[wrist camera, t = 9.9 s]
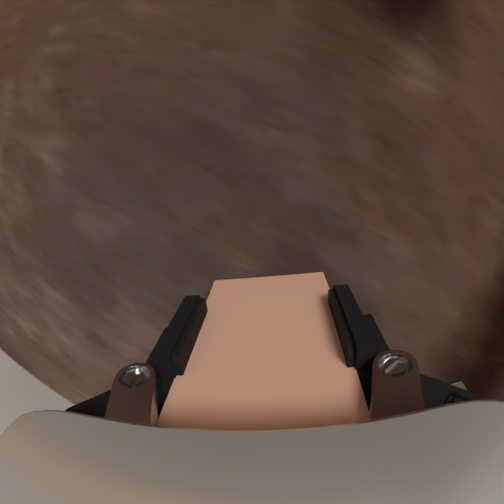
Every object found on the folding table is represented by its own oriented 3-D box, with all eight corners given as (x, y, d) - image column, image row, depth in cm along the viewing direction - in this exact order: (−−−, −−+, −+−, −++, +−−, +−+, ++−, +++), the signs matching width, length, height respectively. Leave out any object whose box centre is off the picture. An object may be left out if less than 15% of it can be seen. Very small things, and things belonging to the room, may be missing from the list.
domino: (215, 280, 14) (138, 471, 5) (322, 271, 14) (384, 470, 4) (221, 313, 15) (164, 502, 5) (323, 306, 14) (368, 501, 5)
